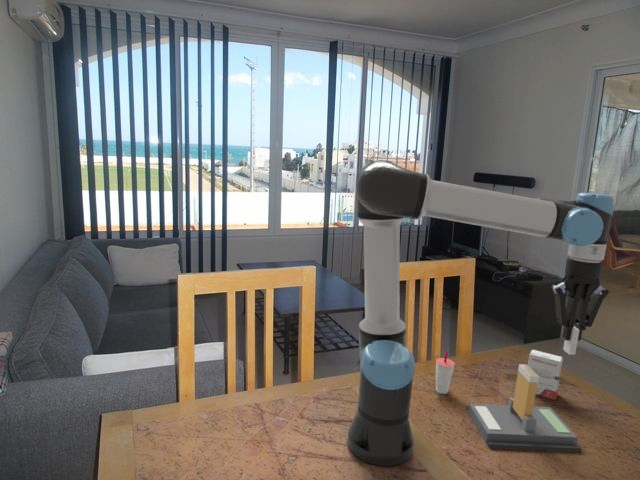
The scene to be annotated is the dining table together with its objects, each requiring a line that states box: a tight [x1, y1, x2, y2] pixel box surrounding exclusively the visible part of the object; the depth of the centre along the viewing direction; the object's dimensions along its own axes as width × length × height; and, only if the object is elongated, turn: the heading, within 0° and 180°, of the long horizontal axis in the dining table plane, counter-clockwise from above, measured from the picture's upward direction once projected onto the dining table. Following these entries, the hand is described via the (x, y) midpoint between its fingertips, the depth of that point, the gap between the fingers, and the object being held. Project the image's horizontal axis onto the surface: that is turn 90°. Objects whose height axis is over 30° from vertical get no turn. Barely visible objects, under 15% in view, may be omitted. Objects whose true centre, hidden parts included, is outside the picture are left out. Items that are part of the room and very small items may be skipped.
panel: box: [467, 396, 578, 445], centre depth 116 cm, size 22×13×6 cm, turn 91°
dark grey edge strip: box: [487, 442, 582, 453], centre depth 109 cm, size 22×1×1 cm, turn 91°
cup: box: [435, 351, 456, 395], centre depth 131 cm, size 5×5×12 cm
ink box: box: [527, 349, 563, 400], centre depth 134 cm, size 9×5×12 cm, turn 58°
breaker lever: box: [512, 363, 539, 420], centre depth 115 cm, size 2×6×13 cm, turn 1°
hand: (569, 352), depth 113 cm, fingers closed
